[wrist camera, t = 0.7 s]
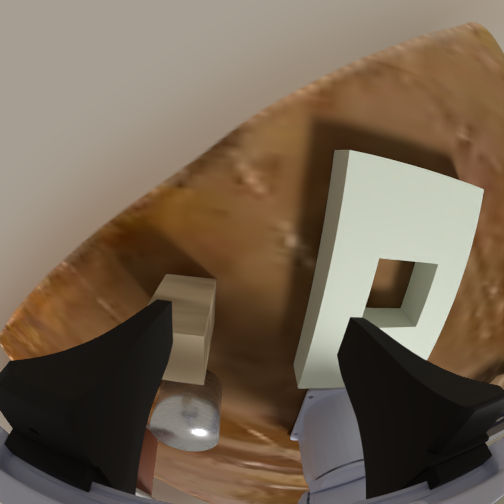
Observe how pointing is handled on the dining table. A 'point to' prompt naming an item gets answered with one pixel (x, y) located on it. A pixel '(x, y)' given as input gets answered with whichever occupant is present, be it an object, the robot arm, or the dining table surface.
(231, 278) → the dining table surface
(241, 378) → the dining table surface
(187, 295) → the square peg
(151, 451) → the coffee cup
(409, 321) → the socket plate
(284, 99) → the dining table surface
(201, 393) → the round peg
